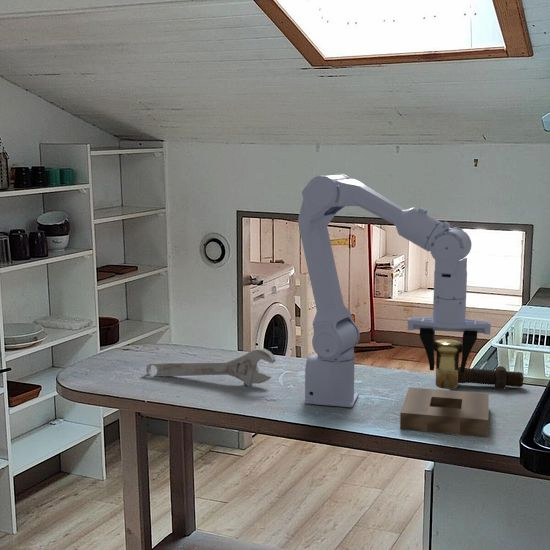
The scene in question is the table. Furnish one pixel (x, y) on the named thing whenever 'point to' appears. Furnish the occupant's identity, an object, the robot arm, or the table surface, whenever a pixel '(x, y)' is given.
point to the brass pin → (447, 363)
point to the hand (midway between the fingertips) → (447, 370)
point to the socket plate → (445, 411)
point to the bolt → (491, 377)
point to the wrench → (219, 367)
